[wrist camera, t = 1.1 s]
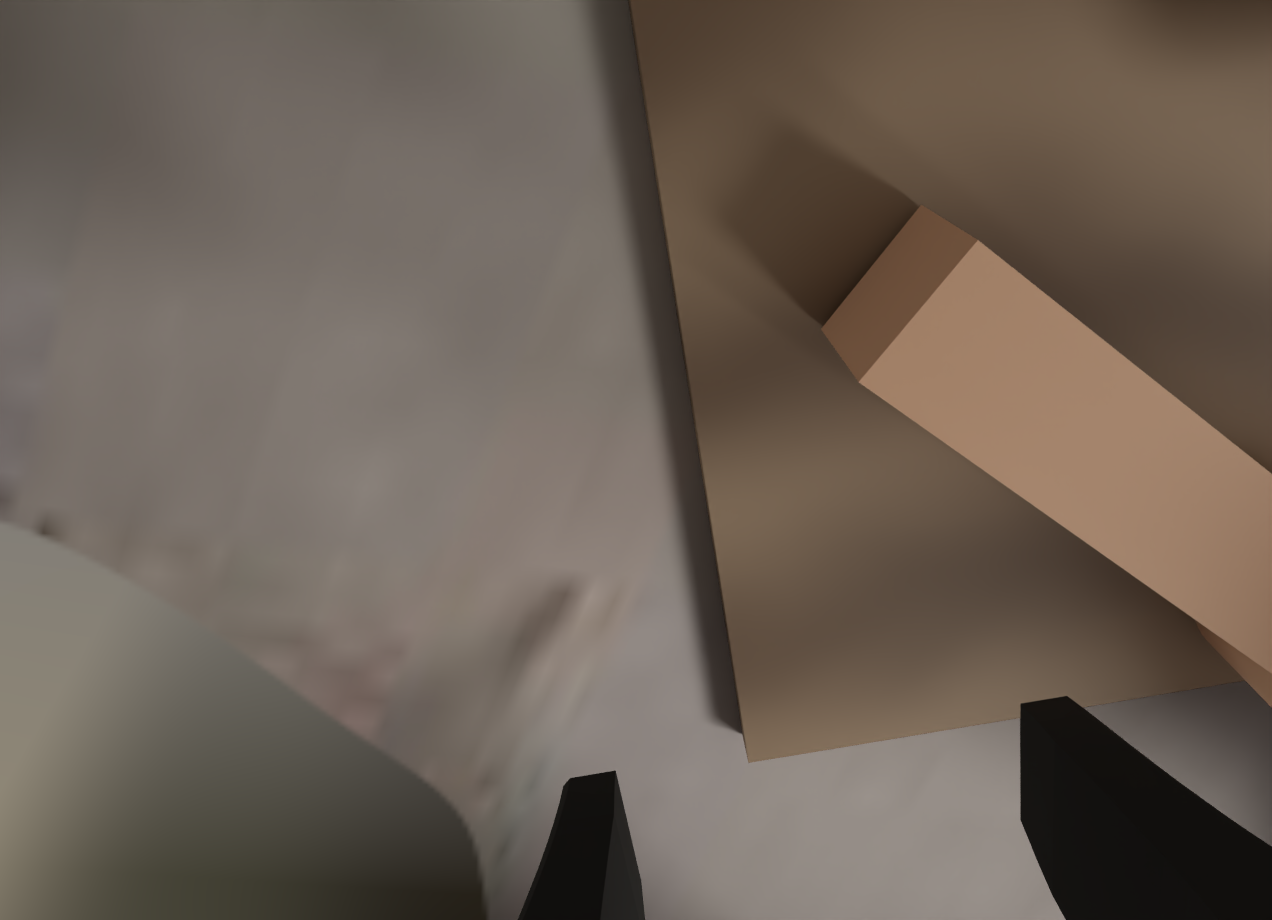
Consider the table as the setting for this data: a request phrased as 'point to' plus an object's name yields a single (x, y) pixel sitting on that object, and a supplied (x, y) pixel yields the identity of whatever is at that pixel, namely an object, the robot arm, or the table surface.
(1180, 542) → the pivot arm
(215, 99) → the table surface
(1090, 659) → the walnut plate
